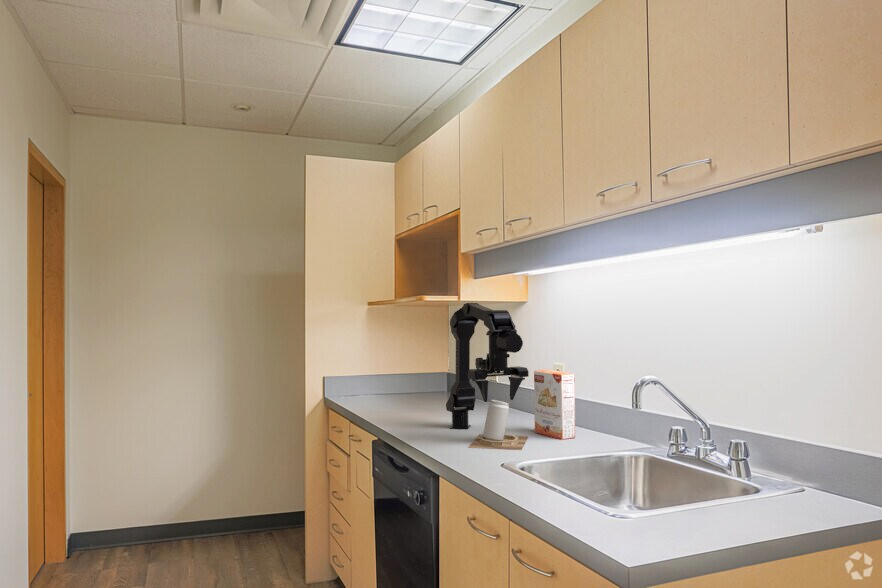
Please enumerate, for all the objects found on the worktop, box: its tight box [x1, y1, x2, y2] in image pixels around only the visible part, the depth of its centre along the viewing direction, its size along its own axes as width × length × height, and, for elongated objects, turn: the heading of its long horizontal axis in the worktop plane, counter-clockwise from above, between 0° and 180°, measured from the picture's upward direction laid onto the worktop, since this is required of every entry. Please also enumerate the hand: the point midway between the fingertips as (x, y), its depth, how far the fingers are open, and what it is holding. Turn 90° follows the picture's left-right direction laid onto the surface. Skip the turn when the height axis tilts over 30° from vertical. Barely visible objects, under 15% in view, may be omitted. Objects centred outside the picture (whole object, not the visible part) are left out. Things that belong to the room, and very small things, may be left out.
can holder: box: [467, 433, 529, 451], centre depth 201 cm, size 20×16×2 cm
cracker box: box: [533, 369, 576, 441], centre depth 211 cm, size 14×6×21 cm, turn 30°
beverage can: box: [482, 399, 510, 441], centre depth 201 cm, size 6×6×12 cm
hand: (498, 400), depth 201 cm, fingers open, 9 cm apart
